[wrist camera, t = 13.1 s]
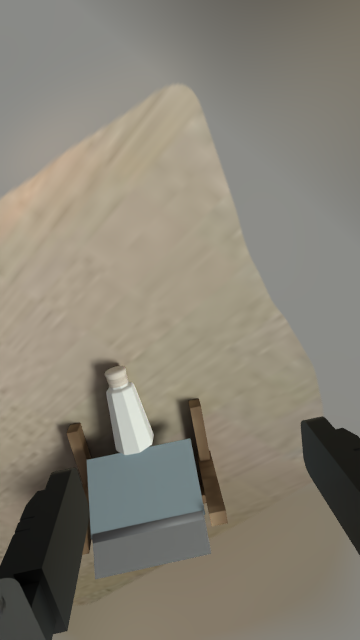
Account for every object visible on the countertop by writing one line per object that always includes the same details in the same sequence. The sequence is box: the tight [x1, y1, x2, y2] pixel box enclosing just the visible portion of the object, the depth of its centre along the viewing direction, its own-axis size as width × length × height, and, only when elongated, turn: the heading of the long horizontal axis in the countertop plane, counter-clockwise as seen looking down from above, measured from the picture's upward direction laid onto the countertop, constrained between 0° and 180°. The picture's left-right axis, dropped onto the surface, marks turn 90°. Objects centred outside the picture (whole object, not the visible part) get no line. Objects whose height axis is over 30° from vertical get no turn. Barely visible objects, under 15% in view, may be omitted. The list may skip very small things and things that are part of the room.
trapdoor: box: [87, 439, 211, 579], centre depth 45 cm, size 14×13×7 cm
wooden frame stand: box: [67, 399, 228, 555], centre depth 46 cm, size 19×16×11 cm
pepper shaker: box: [105, 366, 154, 455], centre depth 46 cm, size 5×5×11 cm
